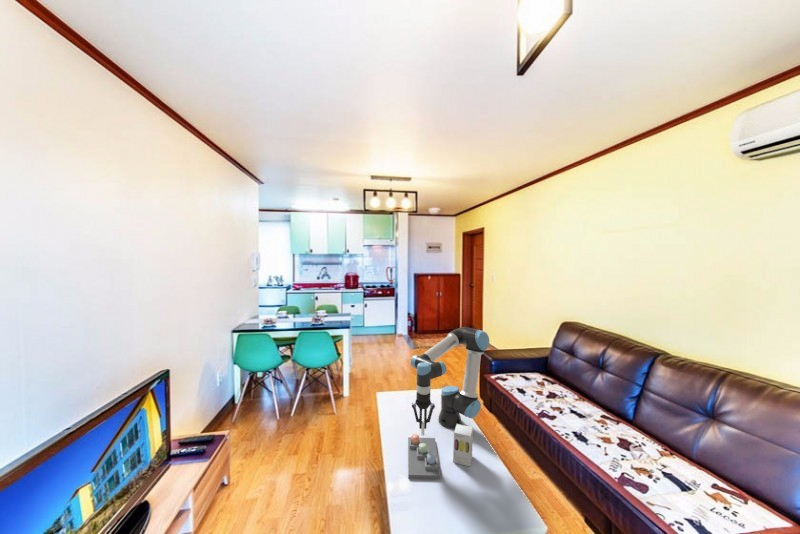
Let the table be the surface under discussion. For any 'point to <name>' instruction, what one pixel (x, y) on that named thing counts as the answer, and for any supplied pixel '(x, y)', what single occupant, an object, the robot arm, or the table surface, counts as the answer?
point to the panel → (422, 460)
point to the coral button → (415, 439)
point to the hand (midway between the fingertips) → (422, 433)
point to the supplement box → (463, 445)
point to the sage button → (422, 448)
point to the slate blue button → (431, 458)
